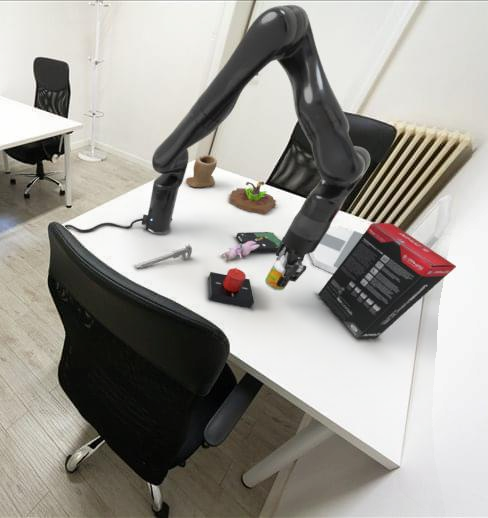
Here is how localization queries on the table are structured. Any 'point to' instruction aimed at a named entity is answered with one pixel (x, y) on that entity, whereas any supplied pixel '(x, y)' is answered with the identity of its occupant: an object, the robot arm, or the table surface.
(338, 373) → the table surface
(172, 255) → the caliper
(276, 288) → the supplement bottle
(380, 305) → the graphics card box
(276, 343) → the table surface
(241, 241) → the disk drive
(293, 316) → the table surface
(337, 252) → the laptop
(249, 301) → the control panel
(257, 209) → the plant
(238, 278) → the knob
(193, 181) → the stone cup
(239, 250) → the pink creature figurine
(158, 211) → the robot arm
